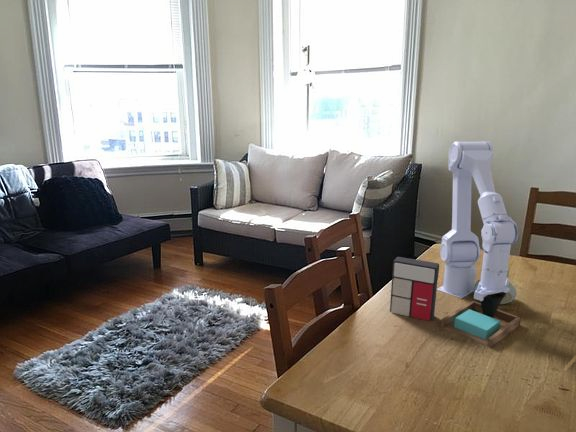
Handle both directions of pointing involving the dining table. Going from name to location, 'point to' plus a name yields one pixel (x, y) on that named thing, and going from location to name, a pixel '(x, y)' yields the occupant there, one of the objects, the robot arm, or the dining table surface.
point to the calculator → (414, 288)
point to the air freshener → (509, 295)
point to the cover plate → (477, 324)
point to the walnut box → (506, 319)
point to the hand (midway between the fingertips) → (488, 317)
